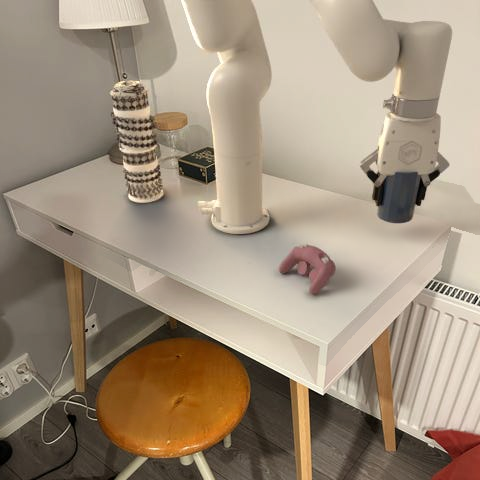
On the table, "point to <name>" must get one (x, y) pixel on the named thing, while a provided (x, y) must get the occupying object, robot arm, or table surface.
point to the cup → (399, 197)
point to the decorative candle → (136, 141)
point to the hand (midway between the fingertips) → (397, 202)
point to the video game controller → (304, 258)
